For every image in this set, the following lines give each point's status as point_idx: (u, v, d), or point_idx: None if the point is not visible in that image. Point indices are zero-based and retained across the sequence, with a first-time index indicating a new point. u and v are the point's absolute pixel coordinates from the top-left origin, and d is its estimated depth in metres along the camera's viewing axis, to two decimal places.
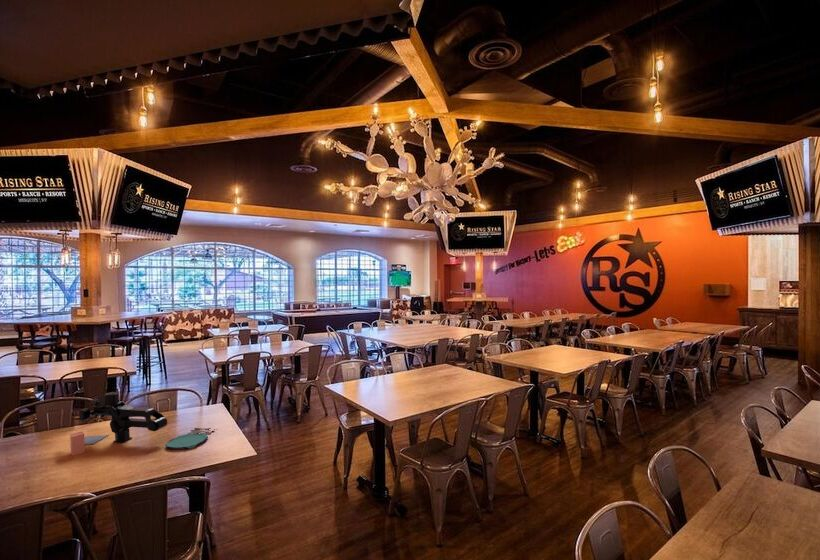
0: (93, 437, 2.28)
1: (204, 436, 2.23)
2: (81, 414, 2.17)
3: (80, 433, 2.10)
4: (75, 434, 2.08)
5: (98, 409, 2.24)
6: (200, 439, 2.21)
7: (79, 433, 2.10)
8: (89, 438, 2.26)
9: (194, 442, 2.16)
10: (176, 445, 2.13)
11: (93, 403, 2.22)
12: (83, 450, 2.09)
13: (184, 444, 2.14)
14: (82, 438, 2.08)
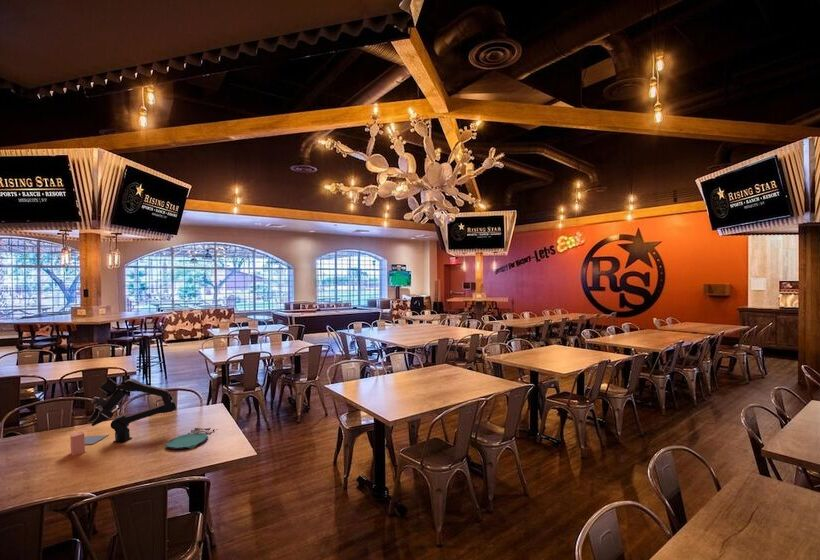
0: (93, 437, 2.28)
1: (204, 436, 2.23)
2: (107, 412, 2.11)
3: (80, 433, 2.10)
4: (75, 434, 2.08)
5: (108, 403, 2.17)
6: (201, 439, 2.21)
7: (79, 433, 2.10)
8: (89, 438, 2.26)
9: (194, 442, 2.16)
10: (176, 445, 2.12)
11: (101, 402, 2.13)
12: (83, 450, 2.09)
13: (184, 444, 2.14)
14: (82, 438, 2.08)
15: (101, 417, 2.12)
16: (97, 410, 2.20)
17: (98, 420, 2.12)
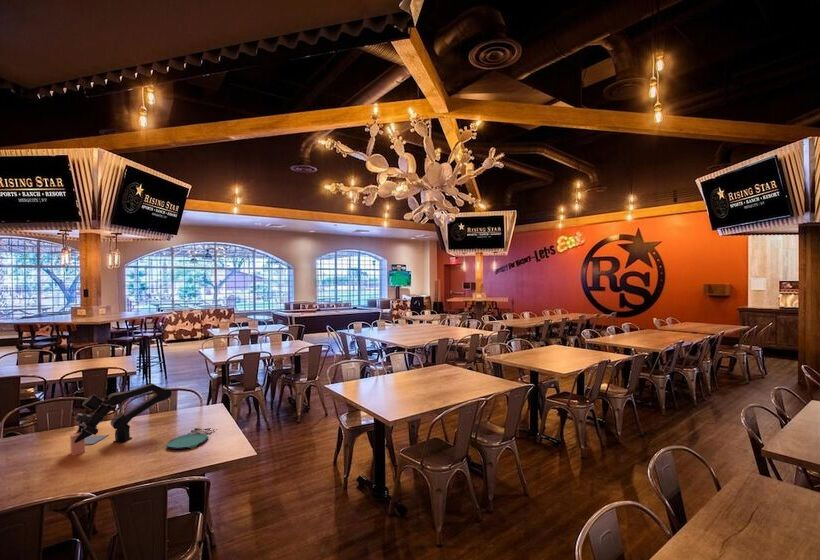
0: (93, 437, 2.28)
1: (205, 436, 2.23)
2: (91, 428, 2.06)
3: None
4: (75, 434, 2.08)
5: (92, 419, 2.12)
6: (201, 439, 2.21)
7: (79, 433, 2.10)
8: (89, 438, 2.26)
9: (195, 442, 2.16)
10: (177, 445, 2.12)
11: (84, 418, 2.08)
12: (83, 450, 2.09)
13: (185, 444, 2.14)
14: None
15: (84, 433, 2.08)
16: (81, 428, 2.13)
17: (81, 436, 2.07)
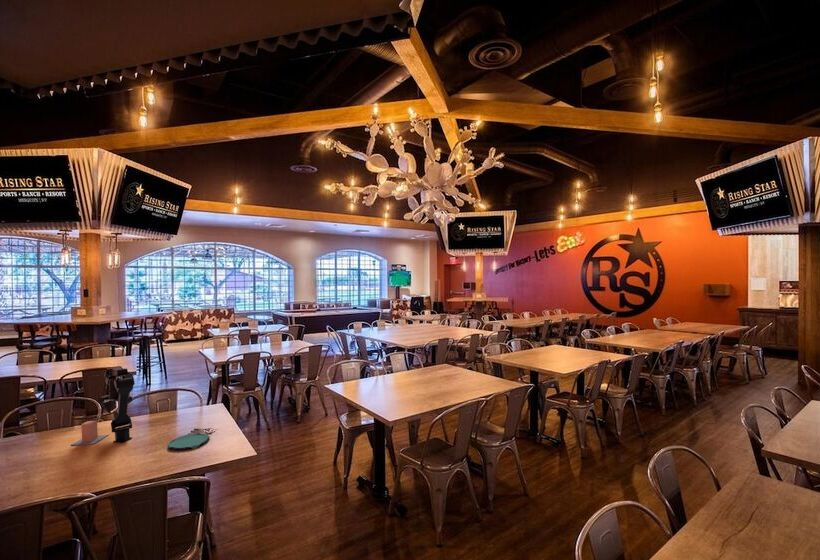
0: None
1: (206, 436, 2.23)
2: None
3: (91, 422, 2.24)
4: (88, 422, 2.24)
5: None
6: (202, 439, 2.21)
7: (91, 422, 2.24)
8: None
9: (196, 442, 2.16)
10: (178, 445, 2.12)
11: None
12: (90, 439, 2.22)
13: (186, 444, 2.13)
14: (89, 428, 2.22)
15: None
16: None
17: None
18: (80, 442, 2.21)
